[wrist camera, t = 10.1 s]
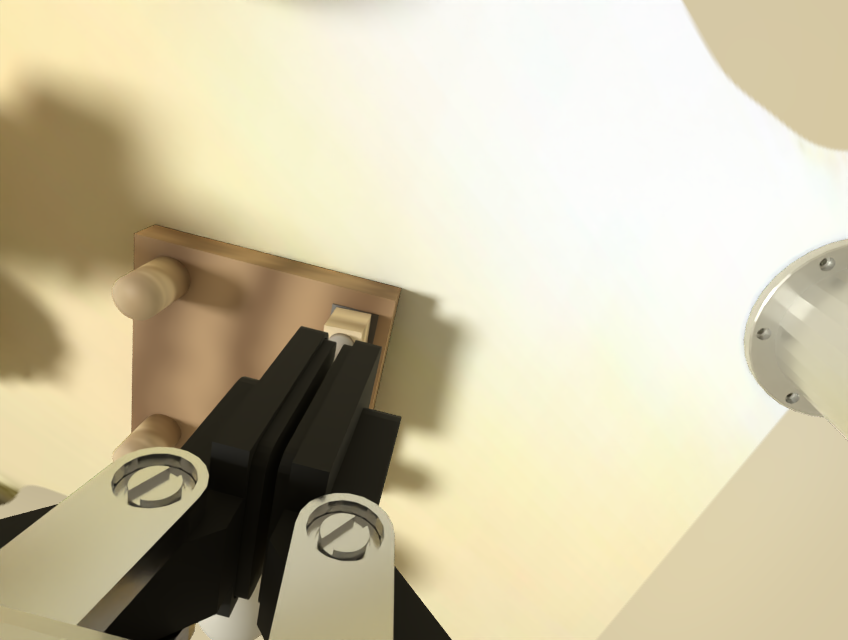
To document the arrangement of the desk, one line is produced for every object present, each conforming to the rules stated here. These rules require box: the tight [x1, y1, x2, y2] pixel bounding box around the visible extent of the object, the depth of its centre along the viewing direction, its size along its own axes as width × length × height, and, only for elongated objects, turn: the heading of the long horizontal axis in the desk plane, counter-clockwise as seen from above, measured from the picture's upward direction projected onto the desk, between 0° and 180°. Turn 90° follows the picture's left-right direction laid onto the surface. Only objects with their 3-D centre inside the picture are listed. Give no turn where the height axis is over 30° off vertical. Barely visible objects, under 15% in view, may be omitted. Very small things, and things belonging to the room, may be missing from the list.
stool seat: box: [112, 225, 401, 462], centre depth 40 cm, size 18×18×6 cm
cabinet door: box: [324, 307, 371, 361], centre depth 38 cm, size 10×2×4 cm, turn 170°
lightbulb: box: [198, 575, 262, 640], centre depth 45 cm, size 6×6×11 cm
